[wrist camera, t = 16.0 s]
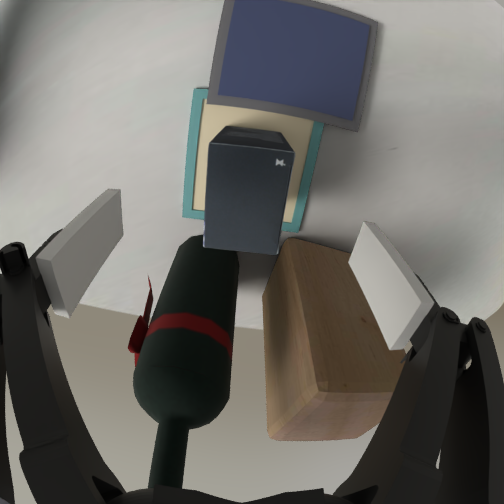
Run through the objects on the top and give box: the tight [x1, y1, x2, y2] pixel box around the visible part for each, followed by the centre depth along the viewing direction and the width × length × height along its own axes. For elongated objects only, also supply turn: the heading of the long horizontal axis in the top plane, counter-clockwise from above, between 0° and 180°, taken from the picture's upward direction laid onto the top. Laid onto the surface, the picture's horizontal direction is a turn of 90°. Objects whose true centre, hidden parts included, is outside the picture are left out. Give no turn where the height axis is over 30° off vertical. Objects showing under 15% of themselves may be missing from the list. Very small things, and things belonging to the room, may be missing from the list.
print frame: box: [182, 89, 324, 233], centre depth 27 cm, size 13×14×1 cm
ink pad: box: [206, 0, 378, 132], centre depth 20 cm, size 15×13×1 cm
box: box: [203, 126, 295, 255], centre depth 22 cm, size 8×6×11 cm
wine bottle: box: [128, 235, 239, 489], centre depth 21 cm, size 8×10×30 cm
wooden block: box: [262, 238, 406, 441], centre depth 26 cm, size 10×10×20 cm
